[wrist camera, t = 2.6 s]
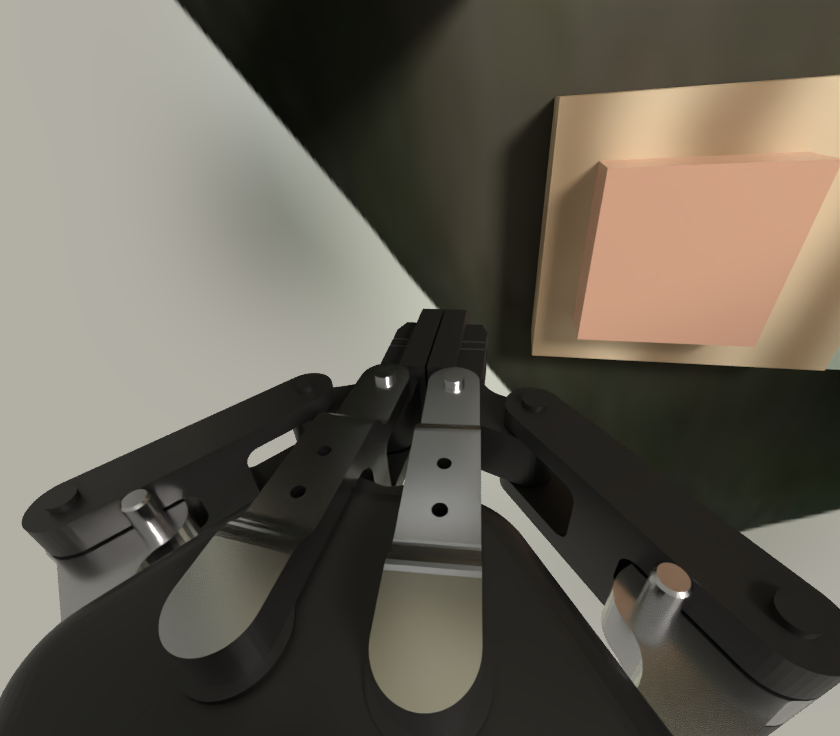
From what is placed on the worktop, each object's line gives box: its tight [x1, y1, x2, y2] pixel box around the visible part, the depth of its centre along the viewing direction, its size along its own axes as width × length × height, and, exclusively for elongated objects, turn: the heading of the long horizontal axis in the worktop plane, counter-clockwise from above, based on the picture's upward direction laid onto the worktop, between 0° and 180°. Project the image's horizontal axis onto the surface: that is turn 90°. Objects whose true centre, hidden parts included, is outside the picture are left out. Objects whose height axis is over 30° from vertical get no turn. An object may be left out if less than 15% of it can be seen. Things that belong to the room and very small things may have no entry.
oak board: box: [531, 75, 840, 371], centre depth 20 cm, size 15×13×3 cm
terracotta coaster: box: [573, 152, 840, 347], centre depth 18 cm, size 8×8×2 cm
